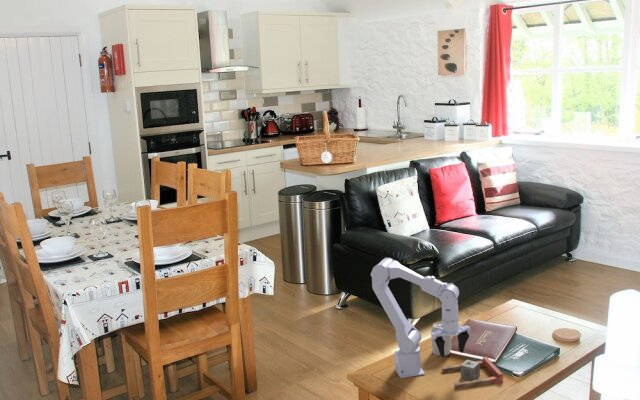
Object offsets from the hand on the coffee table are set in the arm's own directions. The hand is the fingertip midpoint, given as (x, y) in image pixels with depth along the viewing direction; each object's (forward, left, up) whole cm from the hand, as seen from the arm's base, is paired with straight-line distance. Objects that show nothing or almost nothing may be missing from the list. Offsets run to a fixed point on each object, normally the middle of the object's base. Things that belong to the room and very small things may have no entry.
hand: (451, 353), depth 222 cm
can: (+3, +20, -10) cm, 22 cm away
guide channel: (+6, -1, -9) cm, 11 cm away
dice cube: (+6, -1, -10) cm, 12 cm away
